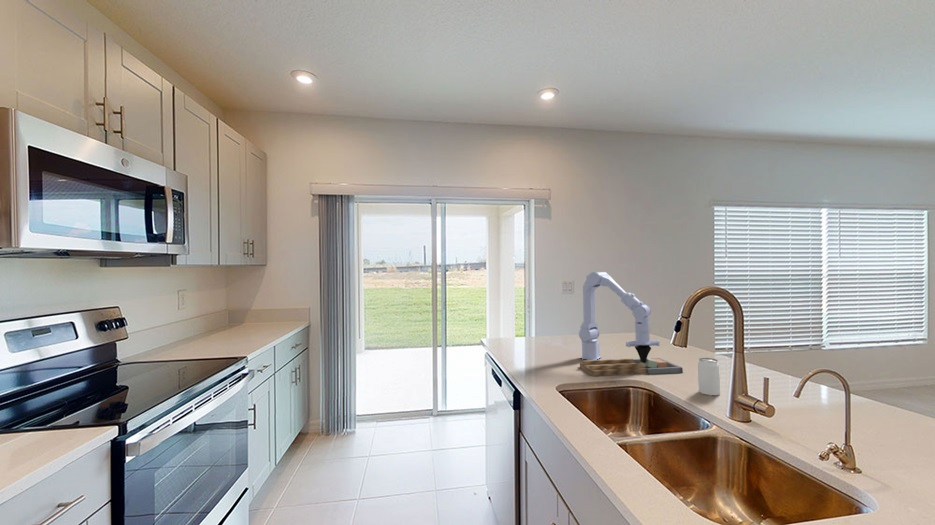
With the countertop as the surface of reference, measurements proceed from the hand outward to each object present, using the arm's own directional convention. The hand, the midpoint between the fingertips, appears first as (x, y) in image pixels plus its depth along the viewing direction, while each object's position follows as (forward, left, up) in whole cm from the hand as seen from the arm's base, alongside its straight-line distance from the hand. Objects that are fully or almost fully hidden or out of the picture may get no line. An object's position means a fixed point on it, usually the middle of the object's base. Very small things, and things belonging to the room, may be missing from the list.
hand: (643, 362), depth 163 cm
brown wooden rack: (+10, -10, -3) cm, 15 cm away
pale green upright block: (-2, +2, -2) cm, 3 cm away
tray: (-4, +4, -3) cm, 6 cm away
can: (+19, +27, -3) cm, 33 cm away
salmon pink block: (-5, +5, -3) cm, 7 cm away
